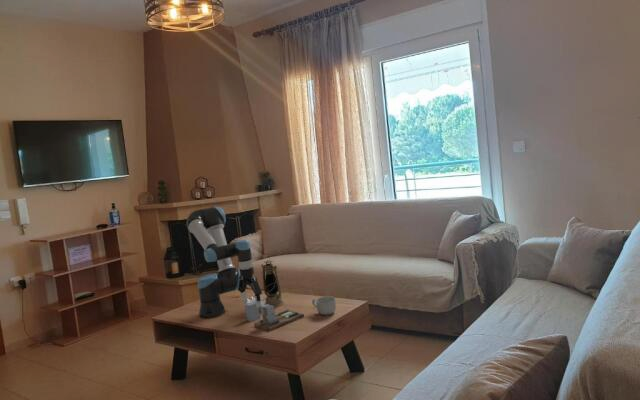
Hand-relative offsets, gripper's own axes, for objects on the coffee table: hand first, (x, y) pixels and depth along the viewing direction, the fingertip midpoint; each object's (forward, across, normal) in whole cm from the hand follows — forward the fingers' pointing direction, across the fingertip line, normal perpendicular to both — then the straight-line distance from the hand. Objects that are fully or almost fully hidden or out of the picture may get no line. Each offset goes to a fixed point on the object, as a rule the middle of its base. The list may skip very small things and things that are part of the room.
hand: (251, 305), depth 262 cm
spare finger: (+8, +1, 0) cm, 8 cm away
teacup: (+9, -29, -27) cm, 41 cm away
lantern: (+8, +11, -22) cm, 26 cm away
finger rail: (+8, -16, -6) cm, 19 cm away
